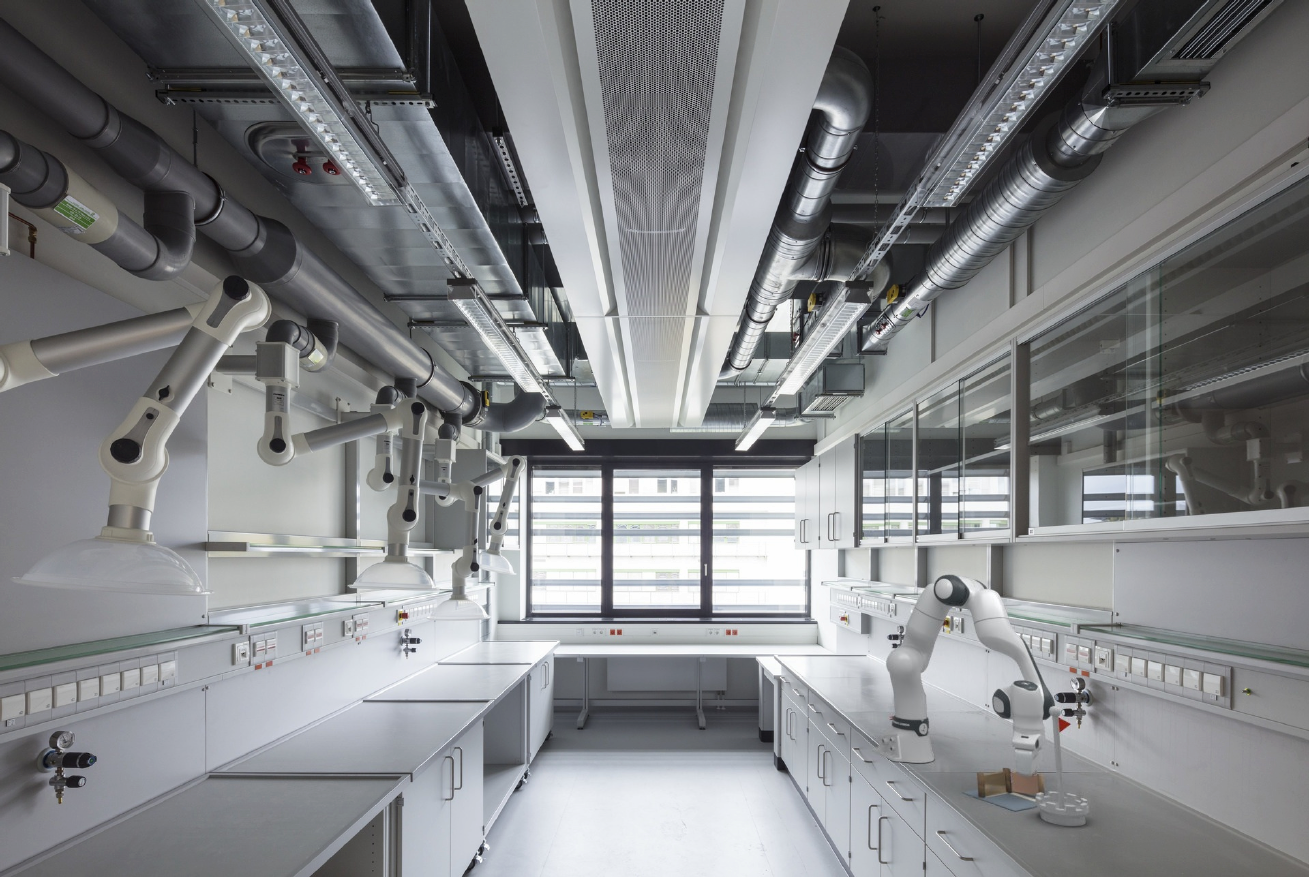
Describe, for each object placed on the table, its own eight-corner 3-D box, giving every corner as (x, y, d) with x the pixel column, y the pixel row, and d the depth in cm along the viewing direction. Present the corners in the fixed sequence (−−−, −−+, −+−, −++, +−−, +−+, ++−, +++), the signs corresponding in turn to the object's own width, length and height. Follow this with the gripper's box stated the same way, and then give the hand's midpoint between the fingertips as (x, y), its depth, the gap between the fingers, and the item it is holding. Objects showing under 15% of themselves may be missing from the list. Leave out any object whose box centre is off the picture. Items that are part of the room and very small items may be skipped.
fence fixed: (976, 795, 235) (975, 772, 236) (1007, 789, 241) (1005, 767, 242) (982, 797, 233) (981, 774, 234) (1013, 791, 239) (1011, 769, 240)
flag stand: (1061, 829, 208) (1052, 712, 212) (1026, 813, 221) (1018, 703, 225) (1101, 824, 212) (1092, 709, 216) (1064, 809, 224) (1056, 700, 228)
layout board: (962, 792, 239) (962, 791, 239) (1016, 782, 249) (1016, 781, 249) (1015, 811, 222) (1015, 810, 222) (1070, 799, 232) (1070, 798, 232)
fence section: (1013, 789, 239) (1012, 769, 240) (1045, 795, 234) (1044, 774, 234) (1012, 791, 238) (1010, 770, 238) (1044, 796, 232) (1042, 775, 233)
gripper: (1025, 728, 249) (1028, 773, 248) (1010, 742, 233) (1013, 791, 231) (1047, 731, 246) (1050, 777, 244) (1033, 745, 229) (1037, 795, 228)
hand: (1032, 784), depth 237 cm, fingers closed
